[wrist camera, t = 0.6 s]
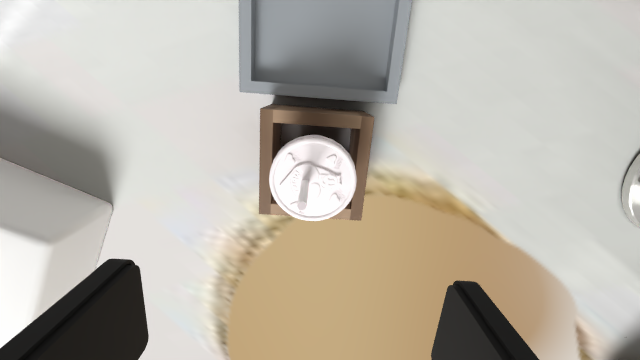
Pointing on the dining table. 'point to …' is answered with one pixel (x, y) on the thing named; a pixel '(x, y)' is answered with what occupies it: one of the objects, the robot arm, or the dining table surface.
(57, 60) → the dining table surface
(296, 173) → the smoothie
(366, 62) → the slate tray
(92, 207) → the tray
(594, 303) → the dining table surface
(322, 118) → the deep holder
